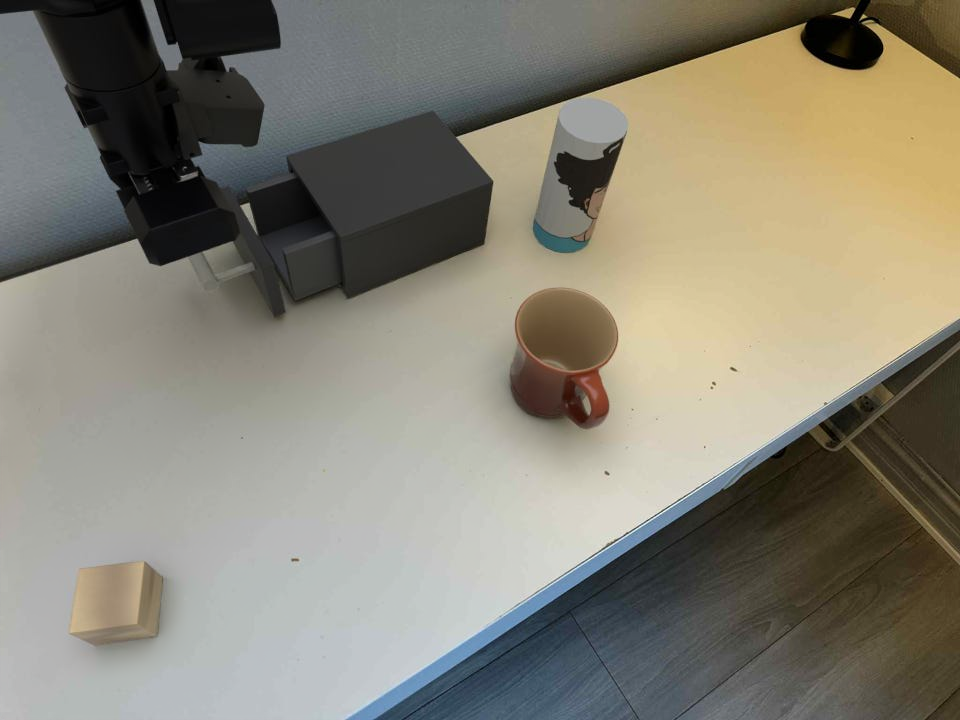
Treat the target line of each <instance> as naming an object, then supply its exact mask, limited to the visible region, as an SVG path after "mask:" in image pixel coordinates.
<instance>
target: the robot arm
mask: <svg viewBox="0 0 960 720" xmlns="http://www.w3.org/2000/svg"><path fill="white" fill-rule="evenodd" d="M142 1H143V0H0V15H6V14H14V13H15V14H16V13H24V12H33V14H34V16H35V19H36V21H37V23H38V26H39V27H40V30H41V31H42V34H43V35H44V38H45V41H46V43H47V44H48V47H49V49H50V50H51V53H52V55H53V57H54V59H55V61H56V63H57V66H58V67H59V71H60V72H61V74H62V78H64V81H65V83H66V84H65V86H64V90H65V92H66V94H67V96H68V98H69V100H70V103H71V105H72V107H73V109H74V111H75V113H76V115H77V118H78V119H79V121H80V123H81V125H82V128H83V129H88V131H89V133H90V136H91V138H92V140H93V142H94V144H95V146H96V148H97V150H98V152H99V154H100V155H99V160H100V162H101V164H102V166H103V167H104V170H105V172H106V175H107V177H108V178H109V180H110V181H111V182H112V183H113V184H114V185H116V186H117V187H118V189H117V190H115V193H116V195H117V197H118V199H119V201H120V203H121V205H122V207H123V209H124V210H123V212H124V214H125V216H126V218H127V220H128V222H129V225H130V226H131V229H132V231H133V233H134V234H135V237H136V239H137V241H138V243H139V245H140V247H141V250H142V252H143V253H144V255H145V258H146V259H147V262H148V264H150V265H154V266H158V267H163V266H166V265H169V264H172V263H174V262H177V261H180V260H183V259H185V258H188V257H189V256H192V255H195V254H198V253H200V252H203V253H204V252H206V251H209V250H211V249H214V248H217V247H220V246H223V245H227V244H229V243H233V241H235V240H236V239H237V237H238V235H239V234H240V229H239V226H238V223H237V219H236V216H235V213H234V211H233V209H232V208H231V206H230V204H229V202H228V201H227V199H226V197H225V196H224V194H223V192H222V191H221V187H220V186H219V184H218V182H217V181H215V180H213V179H210V178H208V177H206V175H205V173H204V172H203V170H202V168H201V167H200V166H199V165H197V166H196V165H195V163H194V161H193V160H192V159H194V158H198V157H200V156H203V152H202V148H201V145H200V143H202V144H206V145H235V146H236V145H239V146H240V145H241V146H242V147H243V148H253V147H256V146H257V145H258V144H259V138H260V133H261V128H262V124H263V123H262V122H263V118H264V117H263V116H264V111H265V106H266V105H265V102H264V101H263V99H262V98H261V96H260V95H259V94H258V92H257V91H256V89H255V87H254V86H253V85H252V84H251V82H250V81H249V79H248V78H247V77H245V76H244V75H243V74H240V73H239V72H238V71H237V69H236V68H235V67H233V66H229V68H228V71H227V69H226V66H225V63H224V61H223V58H222V57H229V56H237V55H243V54H250V53H251V54H252V53H257V52H258V53H259V52H264V51H273V50H279V49H281V46H282V39H281V29H280V23H279V17H278V13H277V10H276V8H275V5H274V3H273V1H272V0H153V4H154V6H155V9H156V12H157V16H158V19H159V23H160V26H161V29H162V32H163V35H164V39H165V42H166V44H167V46H173V45H174V46H175V45H177V46H178V49H179V52H180V56H181V61H180V62H178V68H177V69H175V70H174V69H169V70H168V69H167V68H166V65H165V62H164V60H163V59H162V57H161V55H160V53H159V50H158V48H157V44H156V41H155V38H154V35H153V32H152V29H151V26H150V23H149V20H148V17H147V13H146V11H145V8H144V7H145V6H144V4H143V2H142Z"/></svg>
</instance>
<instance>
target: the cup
mask: <svg viewBox="0 0 960 720" xmlns="http://www.w3.org/2000/svg"><path fill="white" fill-rule="evenodd" d="M628 131H629V121H628V119H627V116H626V114H625V113H624V112H623V111H622V110H621V109H620V108H619V107H617V106H616V105H614V104H613V103H612V102H608V101H606V100H604V99H601V98H595V97H587V96H586V97H576V98H573V99H570V100H568V101H566V102H565V103H563V104H562V106H561V107H560V109H559V110H558V115H557V119H556V123H555V128H554V133H553V136H552V141H551V144H550V145H551V146H550V149H549V153H548V157H547V162H546V167H545V171H544V177H543V179H542V184H541V189H540V192H539V197H538V201H537V206H536V210H535V214H534V219H533V222H532V223H533V224H532V231H533V235H534V237H535V238H536V240H537V241H538V243H539V244H541V245H542V246H544V247H545V248H547V249H549V250H551V251H553V252H556V253H564V254H567V253H575V252H578V251H581V250H583V249H584V248H586V247H587V245H588V244H589V242H590V241H591V239H592V236H593V233H594V230H595V227H596V224H597V221H598V218H599V214H600V212H601V209H602V206H603V203H604V200H605V198H606V195H607V191H608V189H609V185H610V183H611V180H612V177H613V174H614V171H615V169H616V165H617V163H618V160H619V157H620V154H621V150H622V148H623V145H624V141H625V140H626V136H627V133H628Z"/></svg>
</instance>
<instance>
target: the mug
mask: <svg viewBox="0 0 960 720" xmlns="http://www.w3.org/2000/svg"><path fill="white" fill-rule="evenodd" d="M514 332H515V333H514V334H515V337H516V340H517V346H516V349H515V351H514V356H513V359H512V362H511V364H510V368H509V381H510V382H509V383H510V385H509V386H510V392H511V394H512V397H513V399H514V400H515V402H516V403H517V405H518V406H519V407H520V408H521V409H522V410H523V411H525V412H526V413H528V414H529V415H532V416H534V417H537V418H540V419H545V420H555V419H560V418H563V417H565V416H566V417H567V418H568V419H569V420H570V421H571V422H573V423H574V425H575V426H576V427H578V428H580V429H583V430H591V429H594V428H597V427H599V426H601V425H602V424H603V423H604V422H605V421H606V420H607V417H608V416H609V413H610V406H611V405H610V399H609V395H608V393H607V390H606V389H605V387H604V383H603V380H602V379H603V378H602V377H601V374H600V370H601V369H602V368H604V367H605V366H606V365H607V364H608V363H609V362H610V361H611V359H612V358H613V356H614V354H615V352H616V351H617V347H618V344H619V330H618V325H617V322H616V320H615V318H614V316H613V315H612V313H611V312H610V310H609V309H608V308H607V307H606V306H605V304H603V303H602V302H601V301H600V300H599V299H597V298H596V297H594V296H592V295H591V294H589V293H586V292H585V291H581V290H578V289H574V288H569V287H550V288H545V289H542V290H539V291H537V292H534V293H533V294H531V295H530V296H528V297H527V298H526V299H525V300H524V301H523V302H522V303H521V305H520V306H519V308H518V309H517V311H516V315H515V319H514ZM586 397H587V399H588V401H589V404H590V405H589V406H590V412H589V413H588V412H587V410H586V408H585V405H584V400H585V398H586Z"/></svg>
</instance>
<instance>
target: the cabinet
mask: <svg viewBox="0 0 960 720" xmlns="http://www.w3.org/2000/svg"><path fill="white" fill-rule="evenodd" d="M285 158H286V163H287V168H288V174H291V173H295V174H296V176H297V177H298V179H299V180H300V182H301V184H302V185H303V187H304V188H305V190H306V191H307V193H308V194H309V196H310V197H311V199H312V200H313V202H314V203H315V205H316V206H317V208H318V209H319V211H320V212H321V214H322V215H323V217H324V218H325V220H326V221H327V223H328V224H329V226H330V227H331V229H332V231H333V232H334V234H335V235H336V237H337V240H338V248H339V256H340V264H341V273H342V281H343V282H342V283H339V284H337V286H339V288H340V290H341V291H342V293H343V295H344V296H345V298H346V299H347V300H349V299H351V298H353V297H356V296H359V295H361V294H363V293H366V292H368V291H371V290H374V289H376V288H379V287H381V286H383V285H386V284H388V283H392V282H394V281H396V280H398V279H401V278H403V277H406V276H409V275H410V274H414V273H416V272H419V271H421V270H423V269H426V268H429V267H431V266H433V265H436V264H438V263H440V262H443V261H446V260H448V259H450V258H453V257H456V256H458V255H460V254H463V253H466V252H468V251H470V250H473V249H475V248H477V247H480V246H483V245H484V244H485V243H486V242H485V241H486V235H487V230H488V223H489V215H490V210H491V204H492V203H491V202H492V195H493V190H494V189H493V188H494V182H495V181H494V179H492V178H491V176H490V175H489V174H488V172H487V171H486V170H485V169H484V168H483V167H482V166H481V165H480V164H479V162H478V161H477V160H476V159H475V157H473V155H472V154H471V152H469V151H468V149H467V148H466V147H465V146H464V145H463V143H462V142H461V141H460V140H459V139H458V138H457V136H456V135H455V134H454V133H453V132H452V131H451V130H450V129H449V127H448V126H447V125H446V124H445V122H444V121H443V120H442V119H441V118H440V116H439V115H438V114H437V113H436V111H434V110H430V111H426V112H424V113H423V112H422V113H420V114H417V115H414V116H409V117H408V118H403V119H401V120H398V121H394V122H391V123H388V124H384V125H381V126H377V127H375V128H371V129H368V130H364V131H362V132H358V133H355V134H352V135H348V136H345V137H342V138H339V139H336V140H332V141H330V142H326V143H322V144H320V145H316V146H312V147H309V148H307V149H304V150H299V151H297V152H293V153H290V154H286V156H285Z"/></svg>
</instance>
